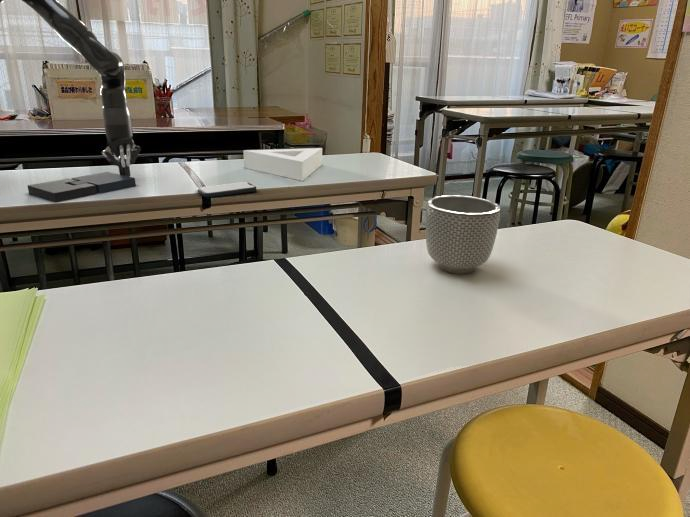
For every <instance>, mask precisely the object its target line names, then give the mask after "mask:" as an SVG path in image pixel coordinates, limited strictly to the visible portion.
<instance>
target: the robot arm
mask: <svg viewBox="0 0 690 517" xmlns="http://www.w3.org/2000/svg"><path fill="white" fill-rule="evenodd" d="M21 1H22V2H23V3H25V4H26V5H27V6H28V7H30V8H31V9H32V10H34V12H36V14H38V15H39V16H40V17H41V18H42V19H43V21H44V22H46V23H47V25H48V26H49V27H50V28H51V29H52V30H53V31H54V32H55V33H56V34H57V35H58V36H59V37H60V38H61V39H62V40H63V41H65V42H66V43H67V44H68V45H69V46H70V47H71V48H72V49H73V50H75V51H76V52H77V53H79V54H80V55H81V57H82V58H83V59H84V61H85V62H86V63H87V64H89V65H90V67H91V68H92V69H93V70H95V72H97V73H98V74H99V75H100V79H101V88H100V100H101V106H102V118H103V124H104V132H105V137H106V140H107V142H106V148H105V149H104V150H101V151H100V154H101V155H102V156H103V157H104V158H105V159H106V160H107V161H108V162H109V163H110V164H111V165H112V166H115V167H118V172H119V173H118V174H119V175H124V176H128V177H131V170H130V166H131V165H132V164H135V162H136V160H137V159H138V156H139V155H140V153H141V150H142V146H139V145H136V144H135V141H134V140H133V136H134V135H133V128H132V121H131V114H130V111H129V106H128V98H127V92H126V71H125V64H124V61H123V59H122V57H121V56H120V55H119V54H118V53H116V52H114V51H110V50H109V49H108V48H107V47H106V46H105V45H104V44H103V43H102V42H100V41H99V40H98V38H97V36H96V34H94V32H92V30H91V29H90V28H88V27H87V26H86V25H85V24H84V23H83V22H82V21H81V20H80V19H79V18H77V17H76V15H74V14H73V13H72V12H71V11H69V10H68V9H67V8H65V6H64V5H62V4H61V3H60V2H59V1H57V0H21ZM3 2H4V0H0V5H1V4H2V3H3Z"/></svg>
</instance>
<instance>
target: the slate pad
mask: <svg viewBox="0 0 690 517" xmlns="http://www.w3.org/2000/svg"><path fill="white" fill-rule="evenodd" d="M70 179H73V180H77V181H76V182H70V185H73V186H74V185H78V184H84V183H88V184H92V185H96V190H97V194H103V193H109V192H112V191H119V190H122V189H127V188H128V189H129V188H132V187H136V186H137V185H136V183H137V182H136V177H132V176H129V177H128V176H124V175H120V173H114V172H110V171H104V172H98V173H93V174H86V175H82V176H81V175H80V176H74V177H71V178H70Z"/></svg>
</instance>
